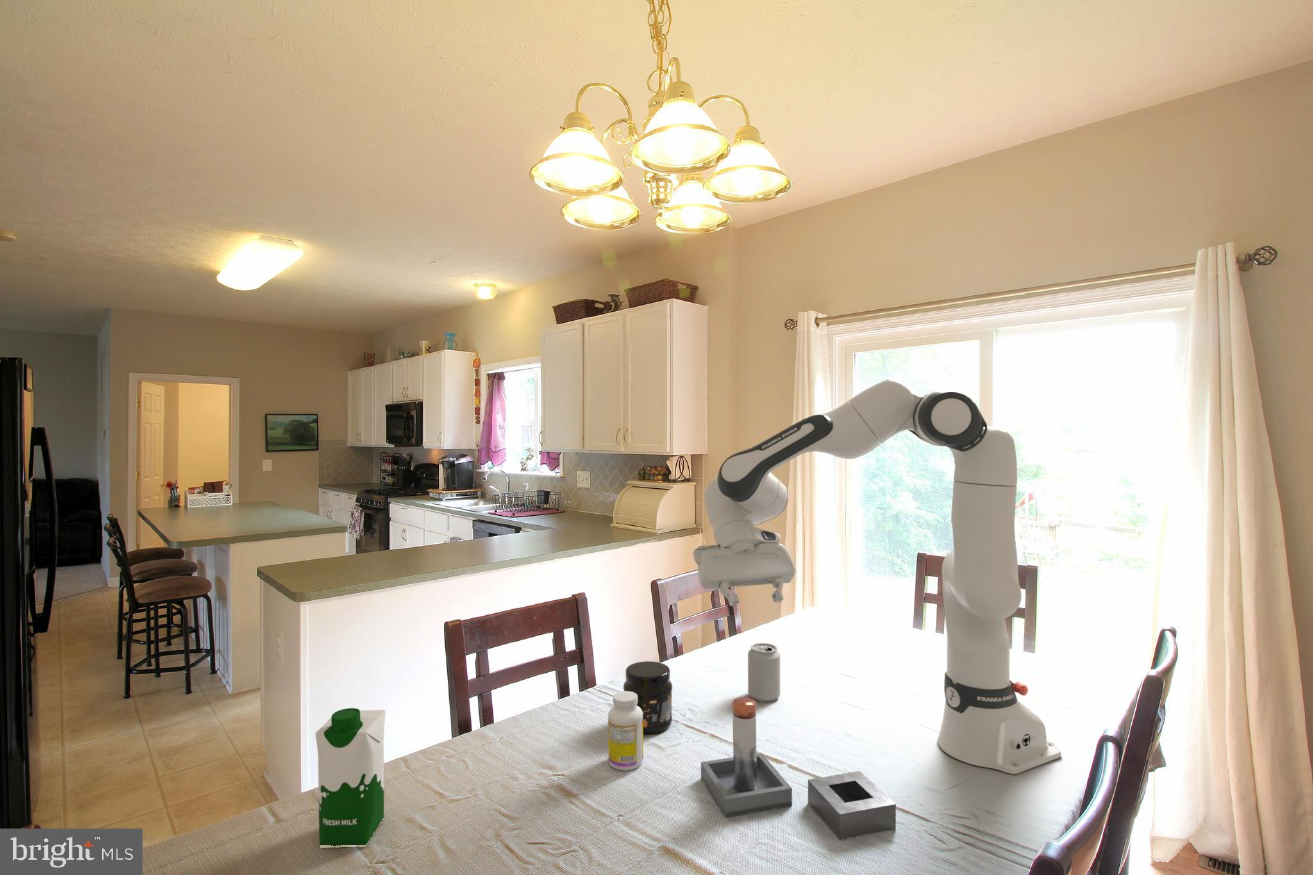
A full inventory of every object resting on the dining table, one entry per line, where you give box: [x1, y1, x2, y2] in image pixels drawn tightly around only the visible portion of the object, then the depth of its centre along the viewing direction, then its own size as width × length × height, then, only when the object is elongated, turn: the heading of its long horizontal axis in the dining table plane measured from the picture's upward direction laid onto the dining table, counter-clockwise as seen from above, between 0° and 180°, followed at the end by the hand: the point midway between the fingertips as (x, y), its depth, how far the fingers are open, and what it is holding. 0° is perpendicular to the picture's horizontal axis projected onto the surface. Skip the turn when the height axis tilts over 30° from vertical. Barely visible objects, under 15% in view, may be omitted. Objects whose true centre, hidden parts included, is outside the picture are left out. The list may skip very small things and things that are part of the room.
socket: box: [807, 770, 897, 841], centre depth 104 cm, size 10×10×4 cm
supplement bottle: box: [607, 690, 644, 772], centre depth 121 cm, size 7×7×13 cm
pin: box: [732, 697, 757, 793], centre depth 111 cm, size 4×4×15 cm
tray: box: [700, 752, 793, 818], centre depth 111 cm, size 12×12×3 cm
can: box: [747, 642, 781, 703], centre depth 150 cm, size 8×8×12 cm
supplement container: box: [622, 660, 673, 735], centre depth 136 cm, size 10×10×12 cm
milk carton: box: [314, 707, 386, 846], centre depth 100 cm, size 9×9×20 cm
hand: (757, 602), depth 125 cm, fingers open, 8 cm apart
